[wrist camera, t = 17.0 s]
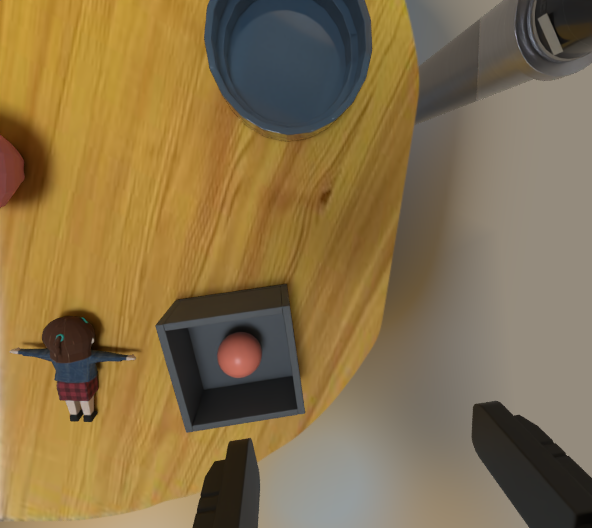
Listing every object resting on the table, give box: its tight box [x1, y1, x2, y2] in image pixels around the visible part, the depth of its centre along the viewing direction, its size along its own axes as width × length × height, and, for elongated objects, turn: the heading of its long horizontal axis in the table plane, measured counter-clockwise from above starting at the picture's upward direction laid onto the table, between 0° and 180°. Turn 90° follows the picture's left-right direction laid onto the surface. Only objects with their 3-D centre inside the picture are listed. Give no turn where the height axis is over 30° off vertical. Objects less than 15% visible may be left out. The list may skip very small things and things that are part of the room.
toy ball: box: [217, 332, 262, 378], centre depth 35 cm, size 5×5×5 cm
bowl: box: [204, 0, 372, 141], centre depth 27 cm, size 14×14×5 cm
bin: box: [156, 284, 305, 433], centre depth 35 cm, size 14×14×7 cm
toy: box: [10, 316, 136, 422], centre depth 35 cm, size 14×5×15 cm
